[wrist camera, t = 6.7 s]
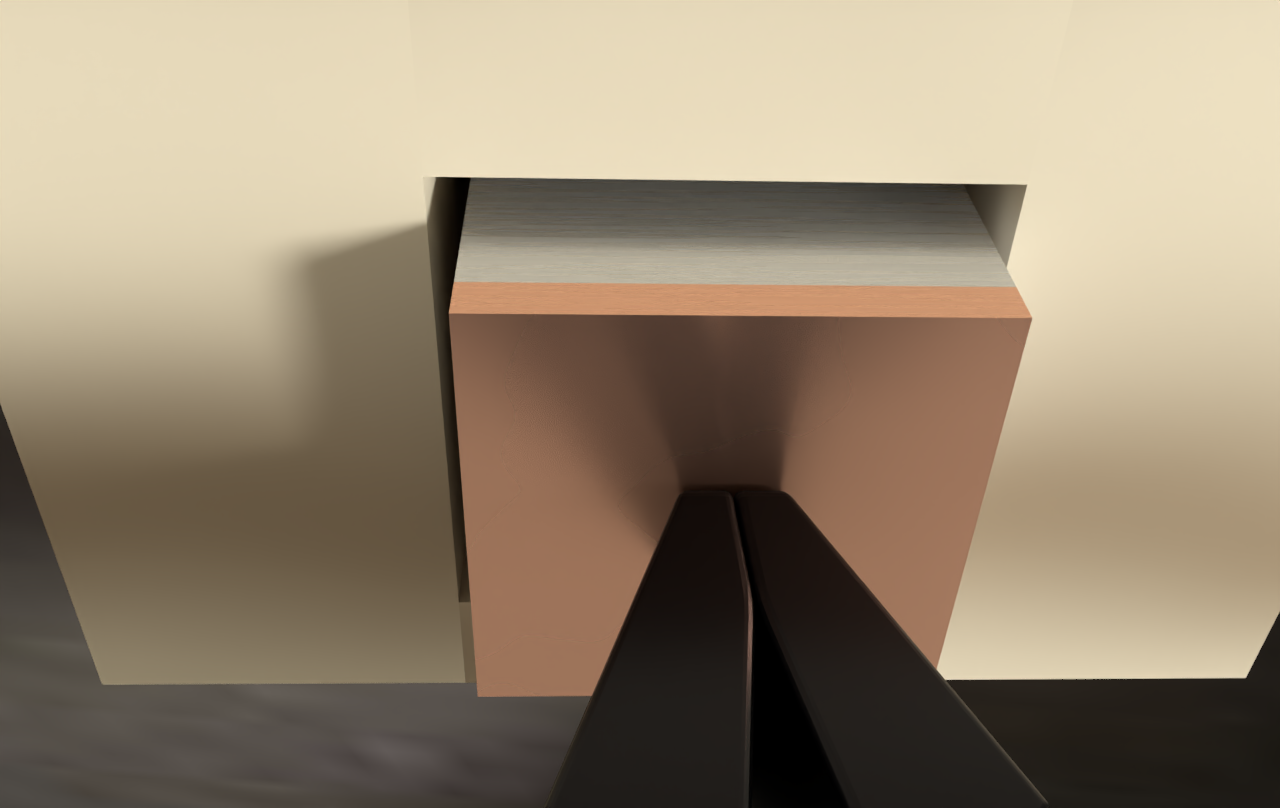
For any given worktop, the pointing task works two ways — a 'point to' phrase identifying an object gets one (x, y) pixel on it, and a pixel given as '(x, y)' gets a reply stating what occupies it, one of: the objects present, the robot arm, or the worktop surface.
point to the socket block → (614, 149)
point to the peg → (716, 391)
